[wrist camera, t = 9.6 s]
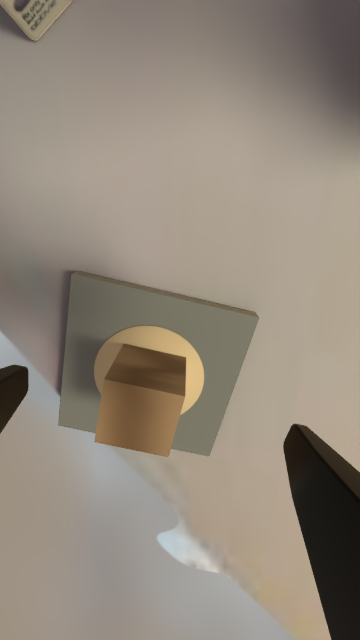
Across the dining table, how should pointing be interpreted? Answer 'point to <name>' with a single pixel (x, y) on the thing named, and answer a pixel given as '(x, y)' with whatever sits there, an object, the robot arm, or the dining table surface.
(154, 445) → the cube
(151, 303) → the coaster
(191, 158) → the dining table surface
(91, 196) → the dining table surface
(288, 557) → the dining table surface
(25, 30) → the container
